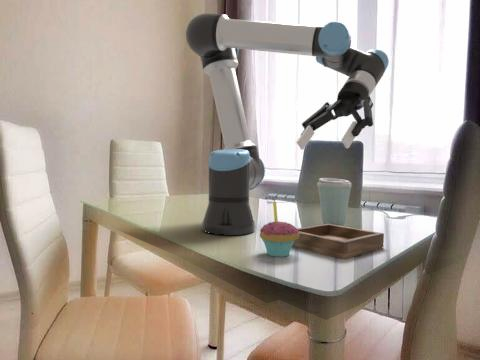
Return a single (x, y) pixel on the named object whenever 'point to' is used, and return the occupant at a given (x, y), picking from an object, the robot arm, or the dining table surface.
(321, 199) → the disposable coffee cup
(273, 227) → the cupcake
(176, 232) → the dining table surface
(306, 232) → the wooden tray
